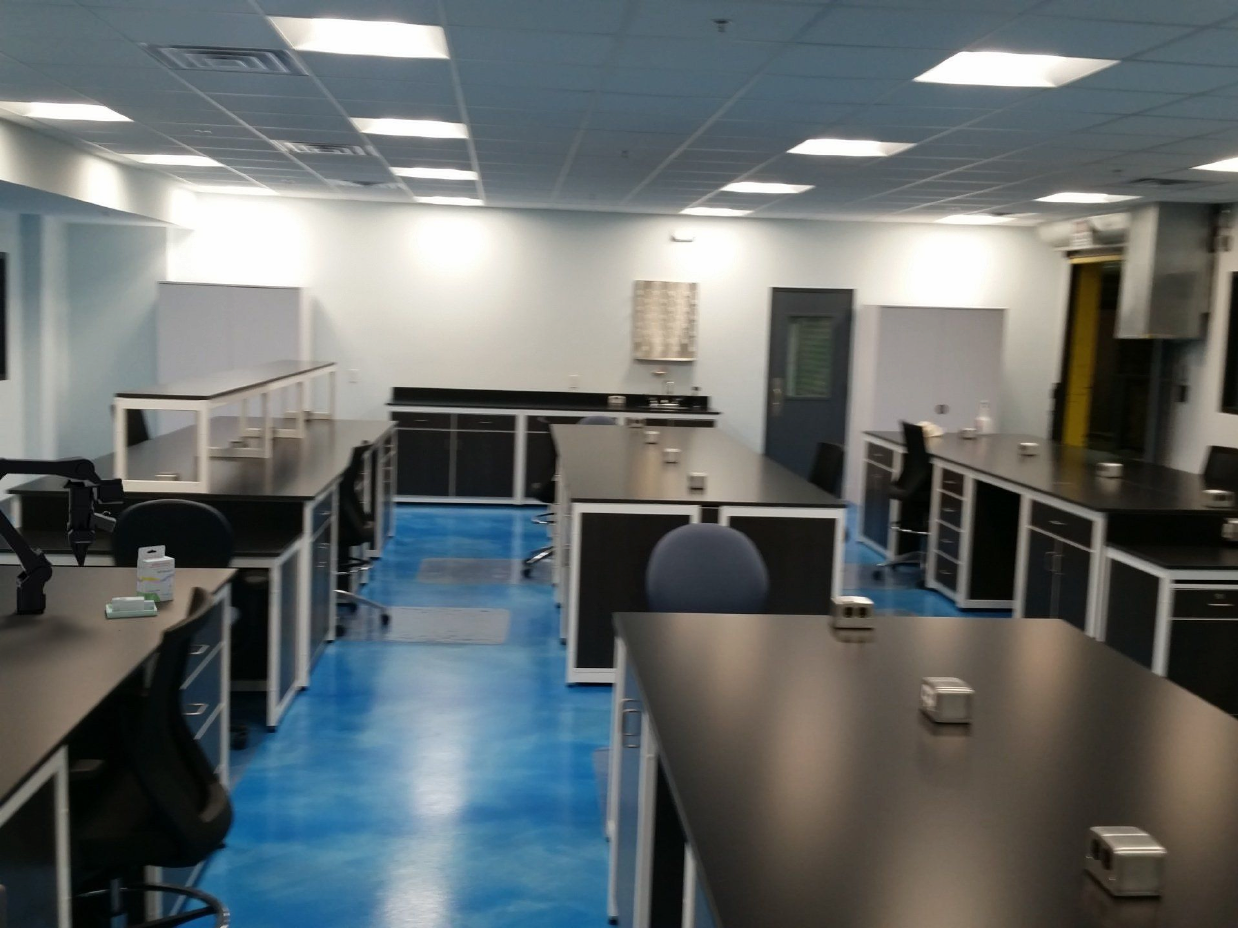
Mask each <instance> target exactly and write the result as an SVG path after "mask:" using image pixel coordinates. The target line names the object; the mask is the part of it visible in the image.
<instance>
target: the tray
mask: <svg viewBox="0 0 1238 928" xmlns="http://www.w3.org/2000/svg"><path fill="white" fill-rule="evenodd" d="M105 612H106V618H107V619H111V618H113V619H114V618H116V619H117V618H135V617H151V616H152V617H153V616H154V617H155V616H158V609H157V606H156V602H154V607H145V608H144V610H141V611H120V612H112V603H111V604H105Z"/></svg>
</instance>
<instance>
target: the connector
mask: <svg viewBox="0 0 1238 928" xmlns="http://www.w3.org/2000/svg"><path fill="white" fill-rule="evenodd" d="M154 603H155V602H154V601H153V600H144V597H137V596H129V597H128V596H126V597H124V596H123V597H113V598H111V604H112V612H120V611H141V610H144V608H145V607H154Z"/></svg>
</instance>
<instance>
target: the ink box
mask: <svg viewBox="0 0 1238 928" xmlns="http://www.w3.org/2000/svg"><path fill="white" fill-rule="evenodd" d="M151 551H155V552H151ZM149 552H150V553H149ZM165 552H166V546H165V545H156V546H155V545H154V546H146V547H139V548H138V554H137V555H138V556H137V567H136V568H137V569H136V573H137V574H136V581H137V582H136V597H144V600H153V601H154V603H161V602H166V601H172V600H173V601H174V597H175V596H174V593H175V592H174V589H175V558H173V557H170V556H166V555H165Z"/></svg>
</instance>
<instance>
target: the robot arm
mask: <svg viewBox="0 0 1238 928" xmlns="http://www.w3.org/2000/svg"><path fill="white" fill-rule="evenodd" d="M95 471H96V467H95V464H94V462H92V461H91V460H90V459H88V458H87V457H85V456H81V455H78V456H70V457H69V456H68V457H64V458H57V459H33V458H30V459H29V458H6V457H2V456H1V457H0V481H1V480H3V478H4V477H6V476H7V475H37V476H39V475H41V476H43V475H44V476H58V477H63V478H67V479H65V481H64V482H63V483H61V484H60V487H61V488H62V489H64V490H65V489H66V490H67V489H68V490H69V491H68V492H69V493H68V498H69V499H68V506H69V507H68V522H67V523H66V524H67V527H66V528H67V536H68V537H67V538H68V544H69V547H70V548H71V550H72V552H73V555H74V557H75V560H76V562H77V564H78V567H84V565H85V562H86V561H85V560H86V557H87V553H88V549H89V547H90V546H91V545H93V544H94V543H95V542H96V532H95V531H94V530H95V528H98V529H101V530H104V531H106V532H108V533H113V531H114V528H115V526H116V523H117V520H116V518H114V517H111V512H110V511H106V510H105V511H103V512H102V513H97V512H95V508H94V500H95V501H98V504H100V505H103V504H104V505H105V504H106V505H109V504H110V505H111V504H123V503H124V501H125V490H124V485H123V479H122V478H121V477H112V478H101V477H100V476H99V475H98V474H97V473H96V472H95ZM72 480H73V481H72ZM75 480H77V481H75ZM84 481H88V482H89V483H91V484H85V482H84ZM0 536H1V537H2V539H4V541H5V542H6V544H7V545H8V546H9V547H10V549H11V550H12V551H13V552H14V554H15V555H16V558H17V560H18V561H19V565H20V566H21V567H22V569H23V570H22V571H20V573H19V574H17V576H16V577H15V578H14V579H15V582H16V584H17V586H16V590H15V591H16V592H15V593H16V596H15V598H16V600H15V602H16V603H15V604H16V607H15V615H22V614H23V615H24V614H28V615H29V614H43V613H45V610H46V609H47V592H46V591H44V588H45V585H46V583H48V582H49V581H50V580H51V579H52V576H53V572H54V571H53V568H52V566H53V563H52V561H50V559H48V558H47V557H46V556H45V553H44V551H42V550H41V549H40V548H39V547H38V548H37V549H36V550H33V549H32V548H31V547H30V545H29V544H28V543H27V542H26V541H25V539H24V538H23V537H22V535H21V534H20V533H19V531H18V530H17V529H16V527H15V526H14V525H13V524H12V523H11V521H10V519H8V517H7V516H6V515H5V513H4V512H3V511H2V509H0Z"/></svg>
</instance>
